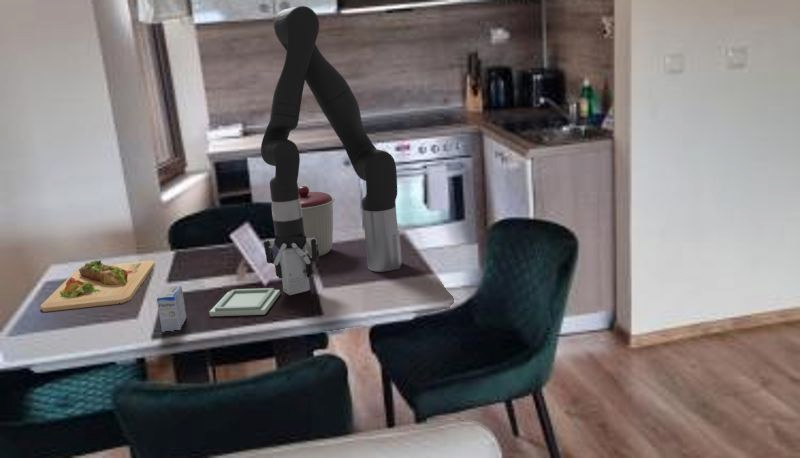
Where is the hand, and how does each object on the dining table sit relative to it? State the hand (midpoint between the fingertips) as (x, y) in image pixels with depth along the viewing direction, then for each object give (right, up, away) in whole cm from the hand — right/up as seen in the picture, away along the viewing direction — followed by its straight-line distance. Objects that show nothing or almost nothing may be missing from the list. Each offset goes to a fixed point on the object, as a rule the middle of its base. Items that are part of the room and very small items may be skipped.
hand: (295, 276), depth 199 cm
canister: (0, +5, +33) cm, 33 cm away
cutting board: (-58, -5, +19) cm, 61 cm away
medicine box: (-27, -11, -16) cm, 33 cm away
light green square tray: (-12, -7, -6) cm, 15 cm away
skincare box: (0, -4, +1) cm, 4 cm away
